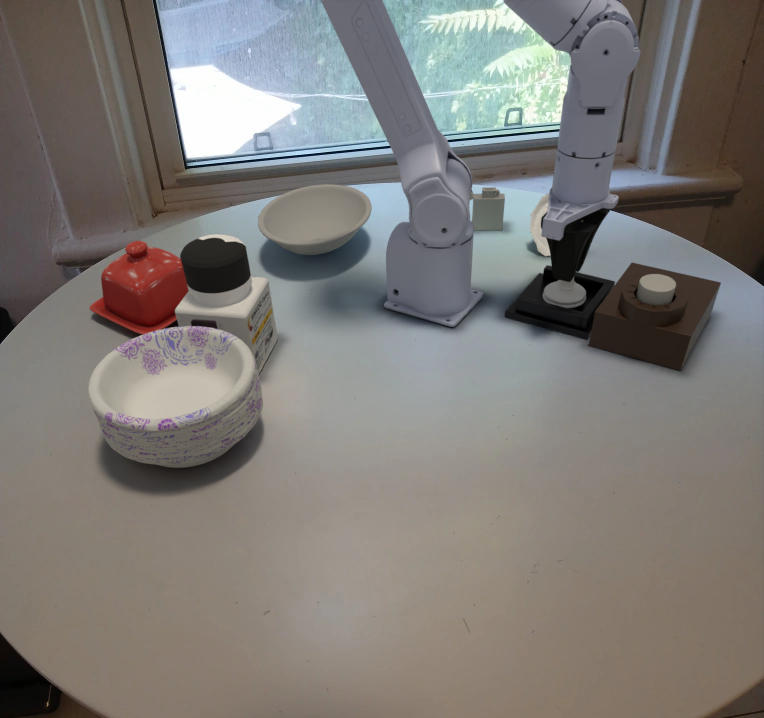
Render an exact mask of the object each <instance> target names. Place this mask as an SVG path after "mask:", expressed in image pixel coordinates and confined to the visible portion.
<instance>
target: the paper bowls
mask: <svg viewBox="0 0 764 718" xmlns="http://www.w3.org/2000/svg"><path fill="white" fill-rule="evenodd" d="M87 397H88V401H89V404H90V406H91V408H92V410H93V413H94V415H95V417H96V419H97V421H98V423H99V427H100V430H101V432H102V435H103V436H104V437H103V438H104V439H105V441H106V443H107V444H108V445H109V447H110V448H111V450H114V451H115V452H116V453H118V454H119V455H120V456H122V457H124V458H126V459H130V461H131V460H132V461H136V462H137V463H141V464H148V465H157V466H160V467H165V468H175V469H180V468H182V469H183V468H184V469H185V468H191V467H197V466H200V465H204V464H206V463H209V462H212V461H214V460H217V458H219V457H221V456H223V455H224V454H225V453H227V452H228V451H230V450H231V448H232V447H233V446H234V445H235V444H237V443H238V442H240V441H241V440H243V438H245V437H246V436H247V434H249V432H250V431H251V430H252V429H253V428H254V427H255V425H256V423H257V422H258V421H259V419H260V416H261V415H262V411H263V408H264V399H263V391H262V385H261V381H260V376H259V374H258V372H257V369H256V362H255V359H254V356H253V354H252V352H251V350H250V349H249V347H248V346H247V345H246V344H245V343H244V342H243V341H242V340H241V339H239V338H238V337H236V336H234V335H232V334H231V333H228V332H226V331H223V330H219V329H215V328H210V327H202V326H182V327H179V326H173V327H166V328H164V329H162V330H157V331H153V332H150V333H147V334H144V335H141V334H140V335H138V336H135V337H134V338H131V339H129V340H127V341H125V342H123V343H121V344H120V345H119V346H116V348H114V349H113V350H111V351H109V353H107V354H106V355H105V356H104V357H103V358H102V359H101V360H100V361H99V363H98V364H97V365H96V367H94V369H93V371H92V372H91V375H90V377H89V380H88V384H87Z"/></svg>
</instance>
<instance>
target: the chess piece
mask: <svg viewBox="0 0 764 718" xmlns="http://www.w3.org/2000/svg"><path fill="white" fill-rule="evenodd" d="M582 222H583V220H582ZM543 299H544V300H545V301H546V302H547V303H550V304H554V305H557V306H561V307H565V308H573V307H577V306H580V305H582V304H583V303H584V302H585V300H586V291H585V289H584V288H583V287H582V286H581V285H579V284H577V283H576V282H574V277H573V279H572V280H571V282H566V281H562V280H558V281H557V282H553V283H550V284H549V285H547V286H546V287H545V289H544V292H543Z"/></svg>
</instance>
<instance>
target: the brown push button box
mask: <svg viewBox="0 0 764 718" xmlns="http://www.w3.org/2000/svg"><path fill="white" fill-rule="evenodd" d="M649 274H661V275H665V276H668V277H670V278H672V279H673V280H674V281H675V282H676V288H675V291H674V295H673V299H672V301H671V303H669V304H666V305H651V304H647V303H643V302H641V301H640V300H638V299H637V297H636V294H637V290H638V285H639V281H640V279H641V278H642V277H643V276H645V275H649ZM721 284H722V282H721V281H716V280H711V279H708V278H703V277H698V276H694V275H691V274H690V275H689V274H686V273H680V272H676V271H672V270H667V269H663V268H659V267H655V266H649V265H645V264H642V263H637V262H630V263H629V265H628V267H627V268H626V269H625V271H624V272H623V273H622V275H621V276H620V278H618V280H617V281H616V282H615V285H614V287H613V288H612V290H611V291H610V292H609V294H608V295H607V296H606V298H605V299H604V300H603V302H602V303H601V305H600V306H599V307H598V309H597V310H596V311H595V315H594V320H593V326H592V331H591V335H590V337H589V341H588V346H590V347H593V348H597V349H600V350H604V351H608V352H610V353H615V354H618V355H623V356H626V357H629V358H633V359H637V360H640V361H645V362H648V363H650V364H651V363H652V364H655V365H658V366H662V367H666V368H670V369H673V370H676V371H682V369H683V367H684V366H685V364H686V363H687V362H686V361H687V360H688V358H689V356H690V354H691V352H692V351H693V349H694V347H695V346H696V343H697V341H698V340H699V338H700V336H701V335H702V332H703V330H704V329H705V327H706V325H707V323H708V321H709V319H710V318H711V315H712V312H713V309H714V306H715V303H716V301H717V297H718V294H719V291H720V288H721Z"/></svg>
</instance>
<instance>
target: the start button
mask: <svg viewBox="0 0 764 718" xmlns="http://www.w3.org/2000/svg"><path fill="white" fill-rule="evenodd" d="M675 288H676V282H675V281H674V280H673V279H672V278H670V277H668V276H665V275H661V274H649V275H645V276H643V277H642V278H641V279H640V281H639V285H638V290H637V294H636V297H637V299H638V300H640V301H641V302H643V303H647V304H651V305H666V304H669V303H671V301H672V299H673V295H674V291H675Z"/></svg>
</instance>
